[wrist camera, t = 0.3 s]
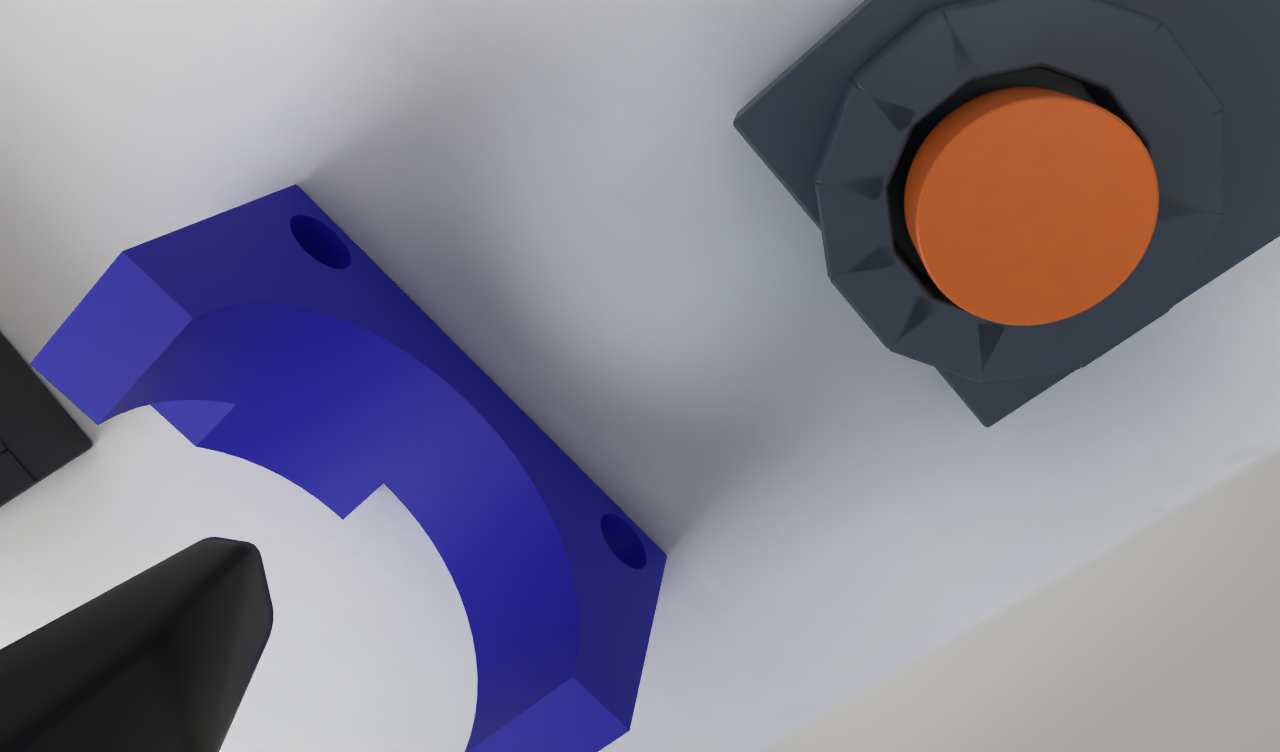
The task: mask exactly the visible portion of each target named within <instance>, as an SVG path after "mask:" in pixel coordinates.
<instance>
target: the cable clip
mask: <svg viewBox="0 0 1280 752" xmlns="http://www.w3.org/2000/svg"><path fill="white" fill-rule="evenodd" d="M30 365H31V366H32V367H34V368H35V369H36V370H37V371H38V372H39V373H40V374H41V375H42V376H44V377H45V378H46V379H47V380H48V381H49V382H50V383H51V384H52V385H54V386H55V387H56V388H57V389H58V390H59V391H60V392H61V393H62V394H64V395H65V396H66V397H67V398H68V399H69V400H70V401H71V402H72V403H74V404H75V405H76V406H77V407H78V408H79V409H80V410H81V411H83V412H84V413H85V414H86V415H87V416H88V417H89V418H90V419H91V420H93V421H94V422H95V423H96V424H97V425H99V424H100V423H102V422H104V421H106V420H108V419H110V418H112V417H114V416H116V415H118V414H120V413H123V412H126V411H129V410H131V409H134V408H137V407H141V406H145V405H149V404H150V405H151V406H152V407H153V408H154V409H156V410H157V411H158V412H159V413H160V414H161V415H162V416H163V417H164V418H165V419H167V420H168V421H169V422H170V423H171V424H172V425H173V426H174V427H175V428H176V429H177V430H179V431H180V432H181V433H182V434H183V435H184V436H185V437H186V438H187V439H188V440H189V441H191V442H192V443H193V444H194V445H195V446H196V447H202V448H206V449H211V450H215V451H220V452H224V453H227V454H230V455H233V456H237V457H240V458H243V459H246V460H248V461H251V462H253V463H256V464H258V465H260V466H263V467H265V468H267V469H269V470H271V471H273V472H275V473H277V474H279V475H281V476H283V477H285V478H286V479H288V480H290V481H292V482H293V483H295V484H297V485H298V486H300V487H302V488H303V489H304V490H306V491H307V492H309V493H310V494H312V495H313V496H315V497H316V498H317V499H319V500H320V501H321V502H323V503H324V504H325V505H326V506H328V507H329V508H330V509H331V510H332V511H334V512H335V513H336V514H337V515H338V516H339V517H341V518H342V519H344V518H345V517H346V516H347V515H348V514H350V513H351V512H352V511H353V510H354V509H355V508H356V507H357V506H358V505H360V504H361V503H362V502H363V501H364V500H365V499H366V498H367V497H368V496H370V495H371V494H372V493H373V492H374V491H375V490H376V489H377V488H378V487H380V486H381V485H382V484H383V483H384V484H385V485H386V486H387V487H388V488H389V489H390V490H391V491H392V492H393V493H394V494H395V495H396V496H397V497H398V499H399V500H400V501H401V502H402V503H403V504H404V505H405V506H406V507H407V509H408V510H409V511H410V512H411V513H412V515H413V516H414V517H415V518H416V520H417V521H418V522H419V523H420V525H421V526H422V528H423V529H424V530H425V532H426V533H427V535H428V536H429V537H430V539H431V540H432V542H433V544H434V545H435V547H436V548H437V550H438V552H439V553H440V555H441V557H442V558H443V560H444V562H445V564H446V566H447V568H448V570H449V572H450V574H451V576H452V578H453V580H454V582H455V584H456V587H457V589H458V591H459V594H460V596H461V599H462V602H463V605H464V608H465V610H466V613H467V616H468V620H469V624H470V628H471V632H472V636H473V641H474V647H475V653H476V661H477V673H478V694H477V705H476V713H475V719H474V724H473V728H472V732H471V736H470V739H469V742H468V745H467V748H466V750H465V752H598V751H599V750H601V749H602V748H604V747H605V746H607V745H608V744H610V743H611V742H613V741H614V740H616V739H617V738H619V737H620V736H622V735H623V734H625V733H626V732H628V731H629V730H630V725H631V721H632V716H633V711H634V707H635V702H636V697H637V693H638V688H639V684H640V679H641V674H642V670H643V665H644V660H645V656H646V651H647V646H648V642H649V637H650V632H651V628H652V623H653V618H654V614H655V609H656V605H657V600H658V595H659V591H660V586H661V581H662V577H663V572H664V567H665V563H666V558H667V555H666V554H665V553H664V552H663V551H662V550H661V549H660V548H659V547H658V546H657V545H656V544H655V543H654V542H653V541H652V540H651V539H650V538H649V537H648V536H647V535H646V534H645V533H644V532H643V531H642V530H641V529H640V528H639V527H638V526H637V525H636V524H635V523H634V522H633V521H632V520H631V519H630V518H629V517H628V516H627V515H626V514H625V513H624V512H623V511H622V510H621V509H620V508H619V507H618V506H617V505H616V504H615V503H614V502H613V501H612V500H611V499H610V498H609V497H608V496H607V495H606V494H605V493H604V492H603V491H602V490H601V489H600V488H599V487H598V486H597V485H596V484H595V483H594V482H593V481H592V480H591V479H590V478H589V477H588V476H587V475H586V474H585V473H584V472H583V471H582V470H581V469H580V468H579V467H578V466H577V465H576V464H575V463H574V462H573V461H572V460H571V459H570V458H569V457H568V456H567V455H566V454H565V453H564V452H563V451H562V450H561V449H560V448H559V447H558V446H557V445H556V444H555V443H554V442H553V441H552V440H551V439H550V438H549V437H548V436H547V435H546V434H545V433H544V432H543V431H542V430H541V429H540V428H539V427H538V426H537V425H536V424H535V423H534V422H533V421H532V420H531V419H530V418H529V417H528V416H527V415H526V414H525V413H524V412H523V411H522V410H521V409H520V408H519V407H518V406H517V405H516V404H515V403H514V402H513V401H512V400H511V399H510V398H509V397H508V396H507V395H506V394H505V393H504V392H503V391H502V390H501V389H500V388H499V387H498V386H497V385H496V384H495V383H494V382H493V381H492V380H491V379H490V378H489V377H488V376H487V375H486V374H485V373H484V372H483V371H482V370H481V369H480V368H479V367H478V366H477V365H476V364H475V363H474V362H473V361H472V360H471V359H470V358H469V357H468V356H467V355H466V354H465V353H464V352H463V351H462V350H461V349H460V348H459V347H458V346H457V345H456V344H455V343H454V342H453V341H452V340H451V339H450V338H449V337H448V336H447V335H446V334H445V333H444V332H443V331H442V330H441V329H440V328H439V327H438V326H437V325H436V324H435V323H434V322H433V321H432V320H431V319H430V318H429V317H428V316H427V315H426V314H425V313H424V312H423V311H422V310H421V309H420V308H419V307H418V306H417V305H416V304H415V303H414V302H413V301H412V300H411V299H410V298H409V297H408V296H407V295H406V294H405V293H404V292H403V291H402V290H401V289H400V288H399V287H398V286H397V285H396V284H395V283H394V282H393V281H392V280H391V279H390V278H389V277H388V276H387V275H386V274H385V273H384V272H383V271H382V270H381V269H380V268H379V267H378V266H377V265H376V264H375V263H374V262H373V261H372V260H371V259H370V258H369V257H368V256H367V255H366V254H365V253H364V252H363V251H362V250H361V249H360V248H359V247H358V246H357V245H356V244H355V243H354V242H353V241H352V240H351V239H350V238H349V237H348V236H347V235H346V234H345V233H344V232H343V231H342V230H341V229H340V228H339V227H338V226H337V225H336V224H335V223H334V222H333V221H332V220H331V219H330V218H329V217H328V216H327V215H326V214H325V213H324V212H323V211H322V210H321V209H320V208H319V207H318V206H317V205H316V204H315V203H314V202H313V201H312V200H311V199H310V198H309V197H308V196H307V195H306V194H305V193H304V192H303V191H302V190H301V189H300V188H299V187H298V186H297V185H296V184H295V185H293V186H290V187H288V188H285V189H283V190H280V191H277V192H275V193H272V194H270V195H267V196H264V197H262V198H259V199H257V200H254V201H251V202H249V203H246V204H244V205H241V206H239V207H236V208H233V209H231V210H228V211H226V212H223V213H220V214H218V215H215V216H213V217H210V218H207V219H205V220H202V221H200V222H197V223H195V224H192V225H189V226H187V227H184V228H182V229H179V230H176V231H174V232H171V233H169V234H166V235H163V236H161V237H158V238H156V239H153V240H151V241H148V242H145V243H143V244H140V245H138V246H135V247H132V248H130V249H127V250H125V251H122V252H121V254H120V255H119V256H118V257H117V258H116V260H115V261H114V262H113V263H112V265H111V266H110V267H109V268H108V269H107V271H106V272H105V273H104V274H103V275H102V277H101V278H100V279H99V280H98V282H97V283H96V284H95V285H94V286H93V288H92V289H91V290H90V291H89V293H88V294H87V295H86V296H85V297H84V299H83V300H82V301H81V302H80V303H79V305H78V306H77V307H76V308H75V310H74V311H73V312H72V313H71V314H70V316H69V317H68V318H67V319H66V321H65V322H64V323H63V324H62V325H61V327H60V328H59V329H58V330H57V331H56V333H55V334H54V335H53V336H52V338H51V339H50V340H49V341H48V342H47V344H46V345H45V346H44V347H43V349H42V350H41V351H40V352H39V353H38V355H37V356H36V357H35V358H34V360H33V361H32V362H31V363H30Z"/></svg>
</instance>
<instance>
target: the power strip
mask: <svg viewBox="0 0 1280 752" xmlns="http://www.w3.org/2000/svg"><path fill="white" fill-rule="evenodd" d="M91 446H92V445H91V443H90V442H89V441H88V439H87V438H86V437H85V436H84V435H83V433H82V432H81V431H80V430H79V429H78V427H77V426H76V425H75V424H74V423H73V421H72V420H71V419H70V418H69V416H68V415H67V414H66V413H65V412H64V410H63V409H62V408H61V407H60V406H59V404H58V403H57V402H56V401H55V400H54V398H53V397H52V396H51V395H50V394H49V392H48V391H47V390H46V389H45V388H44V386H43V385H42V384H41V383H40V382H39V380H38V379H37V378H36V377H35V375H34V374H33V373H32V372H31V371H30V369H29V368H28V367H27V366H26V365H25V363H24V362H23V361H22V360H21V359H20V357H19V356H18V355H17V354H16V353H15V351H14V350H13V349H12V348H11V347H10V345H9V344H8V343H7V342H6V341H5V339H4V338H3V337H2V336H1V334H0V507H1V506H3V505H4V504H6V503H7V502H9V501H10V500H12V499H13V498H15V497H16V496H18V495H20V494H21V493H23V492H24V491H26V490H27V489H29V488H30V487H32V486H33V485H35V484H36V483H38V482H39V481H41V480H43V479H44V478H46V477H47V476H49V475H50V474H52V473H53V472H55V471H56V470H58V469H59V468H61V467H62V466H64V465H66V464H67V463H69V462H70V461H72V460H73V459H75V458H76V457H78V456H79V455H81V454H82V453H84V452H85V451H87V450H88V449H90V448H91Z"/></svg>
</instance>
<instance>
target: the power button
mask: <svg viewBox="0 0 1280 752" xmlns="http://www.w3.org/2000/svg"><path fill="white" fill-rule="evenodd" d="M1158 208H1159V189H1158V180H1157V176H1156V172H1155V168H1154V164H1153V162H1152V160H1151V157H1150V155H1149V153H1148V151H1147V149H1146V147H1145V146H1144V144H1143V143H1142V141H1141V139H1140V138H1139V137H1138V136H1137V135H1136V133H1135V132H1134V131H1133V130H1132V129H1131V128H1130V127H1129V126H1128V125H1127V124H1126V123H1125V122H1123V121H1122V120H1121V119H1120V118H1119V117H1117V116H1116V115H1114V114H1113V113H1111V112H1109V111H1108V110H1106V109H1104V108H1102V107H1100V106H1097V105H1095V104H1093V103H1090V102H1087V101H1085V100H1082V99H1079V98H1076V97H1074V96H1071V95H1068V94H1065V93H1063V92H1059V91H1056V90H1052V89H1048V88H1041V87H1034V86H1027V87H1011V88H1003V89H1000V90H996V91H992V92H988V93H986V94H983V95H981V96H978V97H976V98H974V99H972V100H970V101H968V102H966V103H964V104H962V105H961V106H959V107H958V108H956V109H955V110H954V111H952V112H951V113H949V114H948V115H947V116H946V117H945V118H944V119H943V120H942V121H940V122H939V123H938V124H937V125H936V126H935V128H934V129H933V130H932V131H931V132H930V133H929V134H928V136H927V137H926V139H925V140H924V142H923V143H922V144H921V146H920V147H919V149H918V151H917V153H916V155H915V157H914V159H913V161H912V164H911V167H910V170H909V172H908V176H907V181H906V185H905V193H904V214H905V219H906V225H907V229H908V232H909V235H910V238H911V240H912V242H913V244H914V246H915V248H916V250H917V252H918V254H919V256H920V258H921V260H922V262H923V264H924V266H925V268H926V270H927V272H928V274H929V276H930V277H931V279H932V280H933V282H934V283H935V284H936V286H937V287H938V288H939V289H940V290H941V291H942V292H943V294H944V295H945V296H946V297H947V298H949V299H950V300H951V301H952V302H954V303H955V304H956V305H957V306H959V307H960V308H962V309H964V310H966V311H967V312H969V313H971V314H973V315H975V316H978V317H980V318H982V319H985V320H989V321H993V322H996V323H1002V324H1008V325H1025V326H1028V325H1039V324H1046V323H1051V322H1056V321H1059V320H1062V319H1066V318H1069V317H1072V316H1074V315H1076V314H1079V313H1081V312H1083V311H1085V310H1087V309H1089V308H1091V307H1092V306H1094V305H1096V304H1097V303H1099V302H1101V301H1102V300H1103V299H1105V298H1106V297H1107V296H1109V295H1110V294H1111V293H1112V292H1114V291H1115V290H1116V289H1117V288H1118V287H1119V286H1120V285H1121V284H1122V283H1123V282H1124V281H1125V280H1126V279H1127V278H1128V276H1129V275H1130V274H1131V273H1132V272H1133V270H1134V269H1135V268H1136V266H1137V265H1138V263H1139V262H1140V260H1141V258H1142V257H1143V255H1144V253H1145V251H1146V249H1147V247H1148V245H1149V243H1150V241H1151V238H1152V235H1153V232H1154V229H1155V226H1156V221H1157V215H1158Z"/></svg>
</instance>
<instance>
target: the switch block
mask: <svg viewBox="0 0 1280 752" xmlns="http://www.w3.org/2000/svg"><path fill="white" fill-rule="evenodd" d="M1027 86H1034V87H1041V88H1048V89H1052V90H1056V91H1059V92H1063V93H1065V94H1068V95H1071V96H1074V97H1076V98H1079V99H1082V100H1085V101H1087V102H1090V103H1093V104H1095V105H1097V106H1100V107H1102V108H1104V109H1106V110H1108V111H1109V112H1111V113H1113V114H1114V115H1116V116H1117V117H1119V118H1120V119H1121V120H1122V121H1123V122H1125V123H1126V124H1127V125H1128V126H1129V127H1130V128H1131V129H1132V130H1133V131H1134V132H1135V133H1136V135H1137V136H1138V137H1139V138H1140V139H1141V141H1142V143H1143V144H1144V146H1145V147H1146V149H1147V151H1148V153H1149V155H1150V157H1151V160H1152V162H1153V164H1154V168H1155V172H1156V176H1157V180H1158V189H1159V208H1158V215H1157V221H1156V226H1155V229H1154V232H1153V235H1152V238H1151V241H1150V243H1149V245H1148V247H1147V249H1146V251H1145V253H1144V255H1143V257H1142V258H1141V260H1140V262H1139V263H1138V265H1137V266H1136V268H1135V269H1134V270H1133V272H1132V273H1131V274H1130V275H1129V276H1128V278H1127V279H1126V280H1125V281H1124V282H1123V283H1122V284H1121V285H1120V286H1119V287H1118V288H1117V289H1116V290H1115V291H1114V292H1112V293H1111V294H1110V295H1109V296H1107V297H1106V298H1105V299H1103V300H1102V301H1101V302H1099V303H1097V304H1096V305H1094V306H1092V307H1091V308H1089V309H1087V310H1085V311H1083V312H1081V313H1079V314H1076V315H1074V316H1072V317H1069V318H1066V319H1062V320H1059V321H1056V322H1051V323H1046V324H1039V325H1028V326H1025V325H1008V324H1002V323H996V322H993V321H989V320H985V319H982V318H980V317H978V316H975V315H973V314H971V313H969V312H967V311H966V310H964V309H962V308H960V307H959V306H957V305H956V304H955V303H954V302H952V301H951V300H950V299H949V298H947V297H946V296H945V295H944V294H943V292H942V291H941V290H940V289H939V288H938V287H937V286H936V284H935V283H934V282H933V280H932V279H931V277H930V276H929V274H928V272H927V270H926V268H925V266H924V264H923V262H922V260H921V258H920V256H919V254H918V252H917V250H916V248H915V246H914V244H913V242H912V240H911V238H910V235H909V232H908V229H907V225H906V219H905V214H904V193H905V185H906V181H907V176H908V172H909V170H910V167H911V164H912V161H913V159H914V157H915V155H916V153H917V151H918V149H919V147H920V146H921V144H922V143H923V142H924V140H925V139H926V137H927V136H928V134H929V133H930V132H931V131H932V130H933V129H934V128H935V126H936V125H937V124H938V123H939V122H940V121H942V120H943V119H944V118H945V117H946V116H947V115H948V114H949V113H951V112H952V111H954V110H955V109H956V108H958V107H959V106H961V105H962V104H964V103H966V102H968V101H970V100H972V99H974V98H976V97H978V96H981V95H983V94H986V93H988V92H992V91H996V90H1000V89H1003V88H1011V87H1027ZM733 125H734V127H735V128H736V129H737V131H738V132H739V133H740V134H741V135H742V136H743V138H744V139H745V140H746V141H747V142H748V144H749V145H750V146H751V147H752V148H753V150H754V151H755V152H756V153H757V154H758V156H759V157H760V158H761V159H762V160H763V162H764V163H765V164H766V165H767V166H768V168H769V169H770V170H771V171H772V172H773V174H774V175H775V176H776V177H777V178H778V180H779V181H780V182H781V183H782V184H783V186H784V187H785V188H786V189H787V190H788V192H789V193H790V194H791V195H792V196H793V198H794V199H795V200H796V201H797V202H798V204H799V205H800V206H801V207H802V208H803V210H804V211H805V212H806V213H807V214H808V216H809V217H810V218H811V219H812V220H813V222H814V223H815V224H816V225H817V226H818V228H819V229H820V230H821V231H822V238H823V245H824V251H825V258H826V265H827V271H828V276H829V278H830V280H831V282H832V284H833V285H834V286H835V287H836V288H837V290H838V291H839V292H840V293H841V294H842V295H843V297H844V298H845V299H846V300H847V301H848V303H849V304H850V305H851V306H852V307H853V309H854V310H855V311H856V312H857V313H858V314H859V316H860V317H861V318H862V319H863V320H864V322H865V323H866V324H867V325H868V326H869V328H870V329H871V330H872V331H873V332H874V333H875V335H876V336H877V337H878V338H879V339H880V341H881V342H882V343H883V344H884V345H885V347H887V348H889V349H890V351H892V352H894V353H897V354H900V355H903V356H906V357H908V358H911V359H914V360H917V361H920V362H922V363H925V364H928V365H931V366H934V367H935V368H936V369H937V370H938V371H939V373H940V374H941V375H942V376H943V377H944V379H945V380H946V381H947V382H948V383H949V385H950V386H951V387H952V388H953V389H954V391H955V392H956V393H957V394H958V395H959V397H960V398H961V399H962V400H963V401H964V403H965V404H966V405H967V406H968V407H969V409H970V410H971V411H972V412H973V413H974V415H975V416H976V417H977V418H978V419H979V421H980V422H981V423H982V424H983V425H984V426H985V427H990V426H992V425H993V424H995V423H996V422H998V421H999V420H1001V419H1002V418H1004V417H1005V416H1007V415H1008V414H1010V413H1011V412H1013V411H1014V410H1016V409H1017V408H1019V407H1020V406H1022V405H1023V404H1025V403H1026V402H1028V401H1029V400H1031V399H1033V398H1034V397H1036V396H1037V395H1039V394H1040V393H1042V392H1043V391H1045V390H1046V389H1048V388H1049V387H1051V386H1052V385H1054V384H1055V383H1057V382H1058V381H1060V380H1061V379H1063V378H1064V377H1066V376H1067V375H1069V374H1070V373H1072V372H1074V371H1075V370H1077V369H1079V368H1080V367H1081V368H1082V367H1085V366H1086V365H1088V364H1089V363H1091V362H1092V361H1094V360H1095V359H1097V358H1098V357H1100V356H1101V355H1103V354H1104V353H1106V352H1107V351H1109V350H1110V349H1112V348H1114V347H1115V346H1117V345H1118V344H1120V343H1121V342H1123V341H1124V340H1126V339H1127V338H1129V337H1130V336H1132V335H1133V334H1135V333H1136V332H1138V331H1139V330H1141V329H1142V328H1144V327H1145V326H1147V325H1148V324H1150V323H1152V322H1153V321H1155V320H1156V319H1158V318H1159V317H1161V316H1162V315H1164V314H1165V313H1167V312H1168V311H1169V310H1170V308H1172V307H1173V306H1174V305H1175V304H1177V303H1178V302H1180V301H1181V300H1183V299H1184V298H1186V297H1187V296H1189V295H1190V294H1192V293H1193V292H1195V291H1196V290H1198V289H1200V288H1201V287H1203V286H1204V285H1206V284H1207V283H1209V282H1210V281H1212V280H1213V279H1215V278H1216V277H1218V276H1219V275H1221V274H1222V273H1224V272H1225V271H1227V270H1228V269H1230V268H1231V267H1233V266H1234V265H1236V264H1237V263H1239V262H1241V261H1242V260H1244V259H1245V258H1247V257H1248V256H1250V255H1251V254H1253V253H1254V252H1256V251H1257V250H1259V249H1260V248H1262V247H1263V246H1265V245H1266V244H1268V243H1269V242H1271V241H1272V240H1274V239H1275V238H1277V237H1278V236H1280V0H865V1H864V2H863V3H862V4H861V5H860V6H858V7H857V8H856V9H855V10H854V11H853V12H852V13H850V14H849V15H848V16H847V17H846V18H845V19H844V20H842V21H841V22H840V23H839V24H838V25H837V26H836V27H835V28H833V29H832V30H831V31H830V32H829V33H828V34H827V35H825V36H824V37H823V38H822V39H821V40H820V41H819V42H817V43H816V44H815V45H814V46H813V47H812V48H811V49H810V50H808V51H807V52H806V53H805V54H804V55H803V56H802V57H800V58H799V59H798V60H797V61H796V62H795V63H794V64H792V65H791V66H790V67H789V68H788V69H787V70H786V71H785V72H783V73H782V74H781V75H780V76H779V77H778V78H777V79H775V80H774V81H773V82H772V83H771V84H770V85H769V86H767V87H766V88H765V89H764V90H763V91H762V92H761V93H760V94H758V95H757V96H756V97H755V98H754V99H753V100H752V101H750V102H749V103H748V104H747V105H746V106H745V107H744V108H742V109H741V110H740V111H739V112H738V113H737V115H736V118H735V120H734V122H733Z"/></svg>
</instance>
